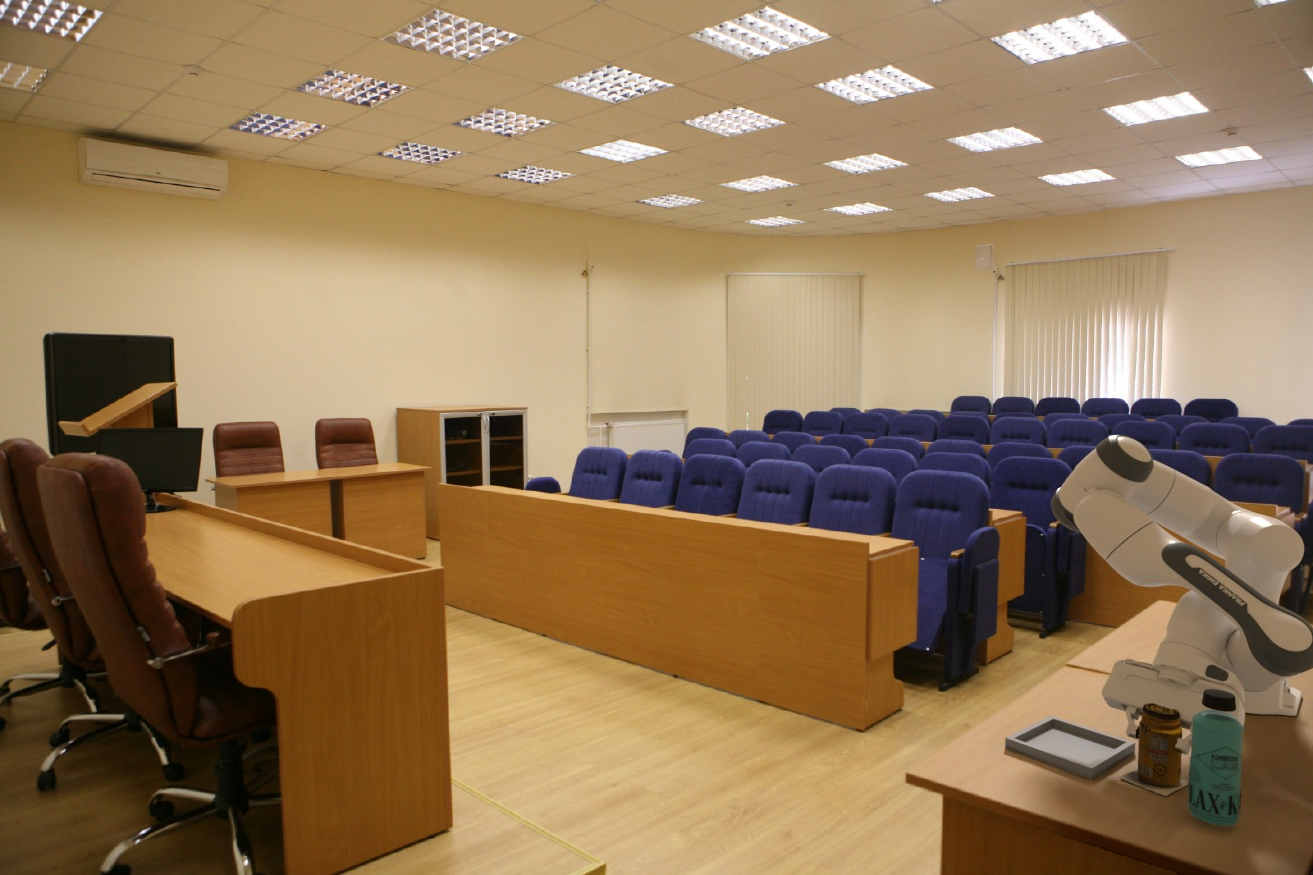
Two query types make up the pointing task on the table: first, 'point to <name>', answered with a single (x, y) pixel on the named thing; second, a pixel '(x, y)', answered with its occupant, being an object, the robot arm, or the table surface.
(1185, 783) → the condiment
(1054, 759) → the tray
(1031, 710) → the table surface
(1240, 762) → the beverage bottle
